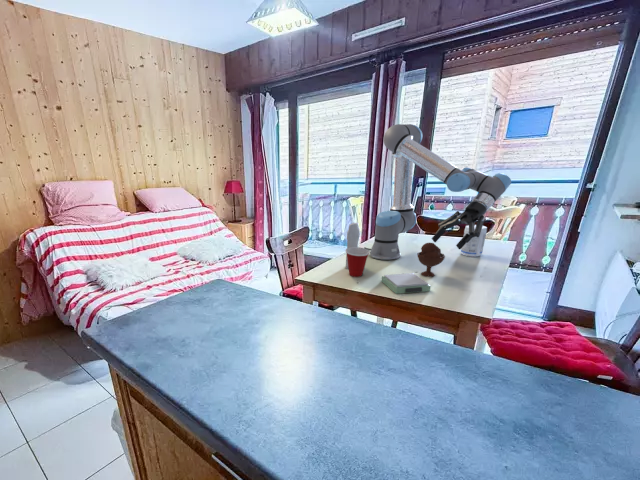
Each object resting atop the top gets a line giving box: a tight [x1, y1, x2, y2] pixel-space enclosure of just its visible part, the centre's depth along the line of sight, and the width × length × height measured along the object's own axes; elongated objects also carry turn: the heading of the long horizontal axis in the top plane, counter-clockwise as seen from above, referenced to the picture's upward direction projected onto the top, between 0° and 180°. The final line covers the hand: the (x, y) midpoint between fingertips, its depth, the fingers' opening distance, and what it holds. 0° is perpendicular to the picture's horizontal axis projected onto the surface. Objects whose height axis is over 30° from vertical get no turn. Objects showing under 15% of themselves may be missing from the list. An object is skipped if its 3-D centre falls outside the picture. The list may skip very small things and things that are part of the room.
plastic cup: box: [344, 246, 371, 278], centre depth 150 cm, size 11×11×12 cm
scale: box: [381, 272, 431, 295], centre depth 136 cm, size 15×14×3 cm
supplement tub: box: [460, 224, 488, 258], centre depth 168 cm, size 10×10×15 cm
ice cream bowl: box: [416, 242, 446, 278], centre depth 145 cm, size 11×11×15 cm
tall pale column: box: [345, 222, 361, 270], centre depth 161 cm, size 11×4×22 cm, turn 134°
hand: (445, 243), depth 144 cm, fingers open, 13 cm apart
